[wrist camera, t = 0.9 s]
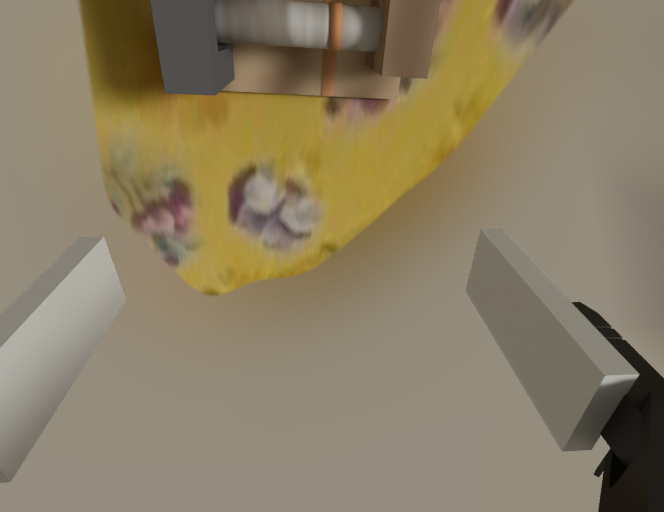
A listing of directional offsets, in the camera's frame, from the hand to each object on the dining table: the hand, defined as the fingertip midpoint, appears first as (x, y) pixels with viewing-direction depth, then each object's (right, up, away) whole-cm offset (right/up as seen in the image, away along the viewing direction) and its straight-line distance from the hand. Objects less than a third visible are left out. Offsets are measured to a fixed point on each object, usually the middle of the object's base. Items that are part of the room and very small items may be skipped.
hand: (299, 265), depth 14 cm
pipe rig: (-2, +19, +16) cm, 25 cm away
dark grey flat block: (-8, +18, +14) cm, 24 cm away
